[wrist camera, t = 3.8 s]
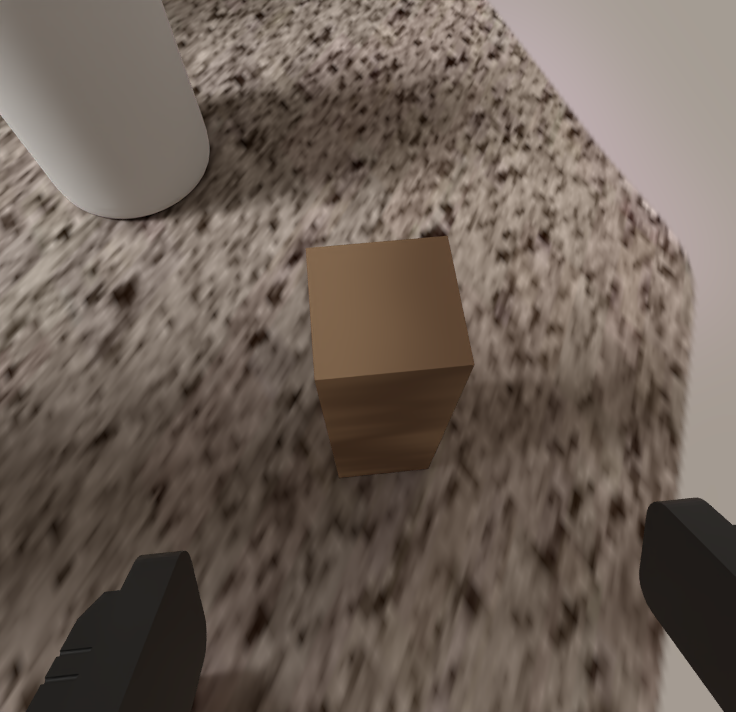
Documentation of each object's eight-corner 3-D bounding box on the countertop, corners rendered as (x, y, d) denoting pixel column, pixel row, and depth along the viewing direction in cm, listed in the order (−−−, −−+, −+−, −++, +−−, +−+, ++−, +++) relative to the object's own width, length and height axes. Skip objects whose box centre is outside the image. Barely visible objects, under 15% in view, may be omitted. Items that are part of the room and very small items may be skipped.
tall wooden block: (338, 478, 20) (314, 380, 11) (332, 394, 22) (306, 248, 13) (428, 468, 21) (474, 364, 11) (415, 386, 22) (447, 235, 13)
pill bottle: (39, 225, 26) (-333, -198, 12) (80, 108, 29) (-175, -324, 15) (201, 226, 26) (10, -198, 12) (223, 110, 29) (94, -324, 15)
